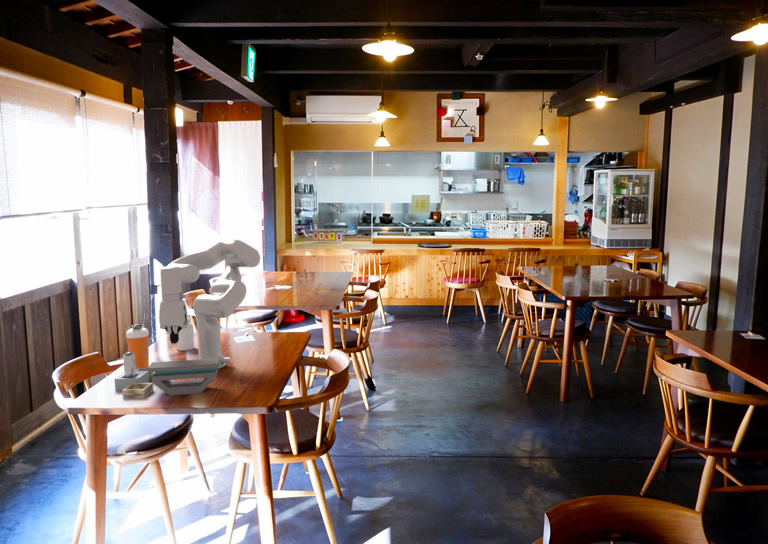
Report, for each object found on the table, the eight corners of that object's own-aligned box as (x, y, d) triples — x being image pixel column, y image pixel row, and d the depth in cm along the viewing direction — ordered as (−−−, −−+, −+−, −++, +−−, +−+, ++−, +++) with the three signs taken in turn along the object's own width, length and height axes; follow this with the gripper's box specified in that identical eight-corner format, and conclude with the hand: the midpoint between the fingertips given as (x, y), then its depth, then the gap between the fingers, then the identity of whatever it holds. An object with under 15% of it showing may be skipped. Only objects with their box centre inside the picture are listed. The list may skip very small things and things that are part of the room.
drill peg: (138, 385, 231) (136, 351, 230) (134, 388, 227) (131, 354, 226) (128, 385, 231) (126, 351, 230) (123, 388, 227) (121, 354, 226)
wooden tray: (153, 390, 225) (152, 382, 224) (144, 397, 217) (143, 389, 217) (132, 390, 225) (132, 383, 225) (122, 397, 217) (122, 389, 217)
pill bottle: (197, 348, 287) (196, 317, 285) (184, 351, 281) (182, 321, 279) (187, 346, 292) (185, 316, 290) (173, 349, 285) (171, 319, 283)
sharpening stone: (149, 396, 218) (147, 368, 217) (154, 390, 226) (152, 362, 224) (219, 391, 222) (217, 363, 221) (221, 385, 230) (219, 358, 229)
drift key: (168, 378, 239) (167, 371, 239) (164, 381, 235) (163, 373, 235) (149, 378, 239) (149, 371, 239) (145, 381, 236) (145, 374, 235)
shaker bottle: (129, 376, 244) (126, 328, 241) (127, 370, 252) (124, 324, 249) (152, 372, 248) (149, 326, 245) (150, 367, 256) (147, 322, 253)
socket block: (153, 378, 239) (152, 368, 239) (138, 390, 226) (137, 378, 225) (131, 378, 240) (131, 368, 239) (115, 390, 226) (114, 379, 225)
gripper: (194, 296, 236) (196, 340, 239) (157, 296, 237) (159, 340, 239) (187, 299, 229) (189, 345, 231) (149, 299, 229) (152, 345, 232)
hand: (174, 342), depth 235 cm, fingers closed
